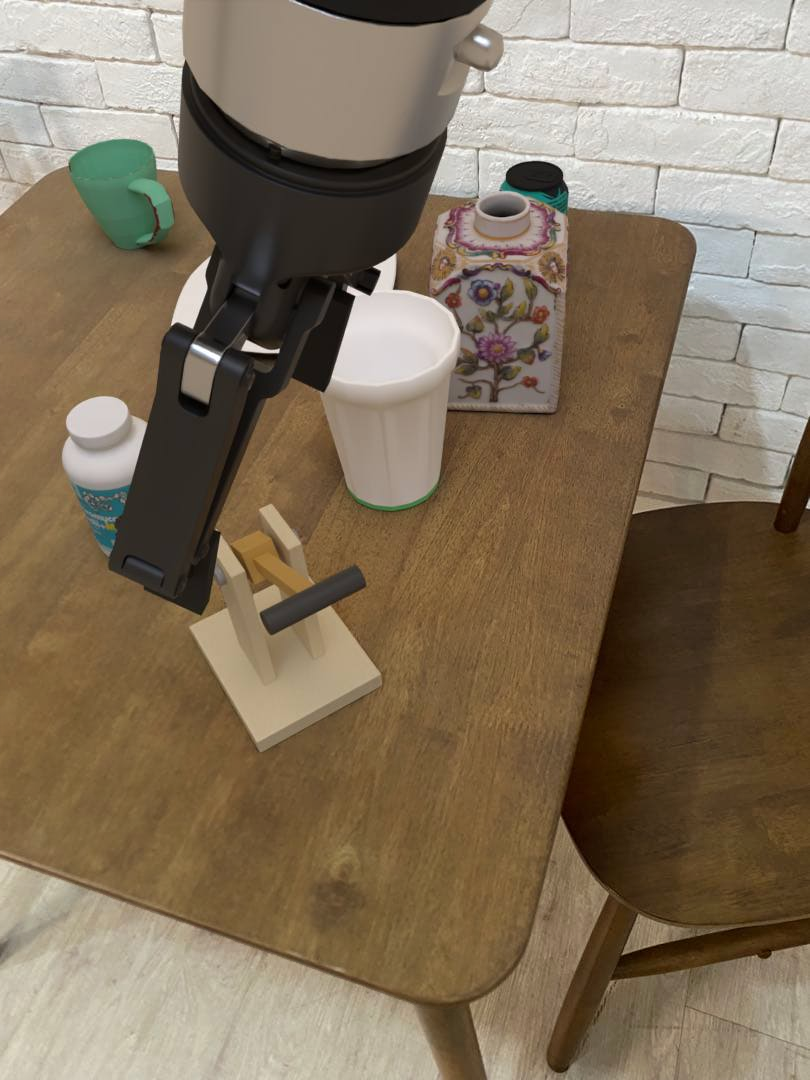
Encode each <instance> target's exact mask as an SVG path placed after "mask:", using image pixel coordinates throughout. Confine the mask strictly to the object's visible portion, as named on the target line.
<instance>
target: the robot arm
mask: <svg viewBox="0 0 810 1080" xmlns="http://www.w3.org/2000/svg"><path fill="white" fill-rule="evenodd" d="M494 2H495V0H183V5H182V6H183V7H182V21H181V22H182V23H181V37H182V55H183V57H184V63H183V66H182V69H181V83H180V104H179V121H178V123H179V124H178V140H177V141H178V143H177V172H178V177H179V181H180V185H181V188H182V190H183V191H182V192H183V193H184V196H185V197H186V200H187V202H188V203H189V206H190V207H191V209H192V210H193V212H194V213H195V215H196V216H197V217H198V219H199V220H200V221H201V223H202V224H203V226H204V227H205V229H206V230H207V232H208V234H209V235H210V236H211V238H212V240H213V241H214V243H215V245H214V247H213V249H212V253H211V255H210V256H211V258H210V260H209V263H208V266H207V269H206V274H205V278H206V282H207V291H206V294H205V297H204V300H203V302H202V305H201V308H200V311H199V313H198V316H197V319H196V322H195V324H194V327H193V329H192V328H190V327H188V326H186V325H183V324H181V323H179V322H176V323H175V324H174V325H172V326H171V325H170V328H169V330H168V331H166V332H165V334H164V335H163V337H162V340H161V343H160V345H161V347H160V353H159V361H158V371H157V379H156V389H155V394H154V398H153V402H152V405H151V409H150V412H149V415H148V420H147V422H146V423H147V427H146V430H145V434H144V437H143V441H142V445H141V448H140V452H139V456H138V459H137V463H136V466H135V470H134V474H133V477H132V481H131V485H130V488H129V492H128V495H127V499H126V503H125V506H124V510H123V514H121V515H120V516H119V518H116V520H115V524H114V527H115V529H117V530H118V532H117V535H116V539H115V543H114V546H113V549H112V551H111V553H110V556H109V557H108V559H109V561H108V565H107V569H108V571H110V572H113V573H115V574H117V575H120V576H121V577H123V578H126V579H128V580H130V581H132V582H135V583H136V584H139V585H141V586H143V590H144V591H145V592H147V593H149V594H151V595H155V596H156V597H159V598H160V599H163V600H165V601H167V602H169V603H172V604H174V605H176V606H178V607H181V608H182V609H185V610H187V611H189V612H192V613H193V614H195V615H198V616H200V617H202V615H203V614H204V612H205V610H206V608H207V607H208V605H209V603H210V599H211V594H212V587H213V582H214V571H215V565H216V559H217V553H218V548H219V542H220V536H221V535H222V532H221V531H219V530H218V529H217V530H218V531H217V530H215V529H216V526H217V523H218V521H219V518H220V516H221V514H222V512H223V509H224V506H225V504H226V501H227V498H228V496H229V494H230V492H231V489H232V486H233V484H234V481H235V479H236V476H237V474H238V472H239V469H240V466H241V465H242V461H243V459H244V456H245V454H246V452H247V449H248V447H249V444H250V441H251V440H252V436H253V435H254V431H255V429H256V427H257V424H258V422H259V419H260V417H261V415H262V412H263V410H264V408H265V405H266V402H267V399H272V398H275V397H276V396H277V395H280V393H282V392H283V391H285V390H286V389H287V387H288V386H289V384H290V381H291V380H295V381H298V382H300V383H302V384H304V385H306V386H308V387H310V388H312V389H315V390H316V391H318V392H319V391H321V392H323V393H324V392H325V390H326V389H327V387H328V385H329V383H330V380H331V377H332V374H333V370H334V367H335V364H336V360H337V357H338V354H339V350H340V347H341V343H342V340H343V337H344V333H345V330H346V327H347V323H348V320H349V317H350V313H351V310H352V307H353V303H354V300H355V297H356V296H354V295H352V294H350V293H348V292H346V291H347V288H348V286H350V287H352V288H354V289H356V290H358V291H360V292H362V293H364V294H367V295H369V296H371V294H372V293H373V291H374V289H375V287H376V284H377V282H378V280H379V277H380V274H381V271H380V270H378V269H376V268H374V266H376V265H378V264H380V263H382V262H384V261H386V260H387V259H389V258H390V257H392V256H393V255H394V254H396V255H397V253H398V252H399V251H400V250H402V249H403V247H404V246H405V245H406V244H407V243H408V242H409V240H410V239H411V238H412V236H413V235H414V233H415V231H416V230H417V227H418V225H419V223H420V222H421V221H420V220H421V217H422V215H423V212H424V209H425V207H426V203H427V200H428V197H429V195H430V193H431V192H430V191H431V189H432V186H433V183H434V180H435V177H436V175H437V172H438V169H439V166H440V163H441V161H442V158H443V155H444V152H445V148H446V145H447V142H448V140H447V139H448V129H449V128H448V127H449V125H450V124H451V122H452V120H453V118H454V116H455V113H456V111H457V108H458V105H459V103H460V99H461V96H462V93H463V91H464V88H465V86H466V82H467V79H468V76H469V73H470V69H471V68H473V69H475V70H477V71H479V72H485V73H489V72H491V71H492V70H494V69H495V68H497V67H498V66H499V64H500V62H501V59H502V58H503V54H504V53H505V51H504V50H505V49H504V48H505V45H504V42H505V41H504V35H503V34H501V33H500V32H498V31H497V30H495V29H493V28H491V27H489V26H486V25H484V24H483V23H481V22H482V21H483V20H484V19H485V17H486V16H487V15H488V14H489V11H490V10H491V8H492V7H493V4H494ZM246 340H247V341H249V342H252V343H254V344H256V345H258V346H260V347H262V348H264V349H268V350H277V349H280V350H279V354H277V357H276V359H275V362H274V365H273V367H269V366H267V365H265V364H263V363H261V362H259V361H257V360H256V358H255V357H254V356H251V355H249V354H247V353H246V352H241V350H242V347H243V345H244V343H245V342H246Z"/></svg>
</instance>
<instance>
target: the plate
mask: <svg viewBox="0 0 810 1080" xmlns="http://www.w3.org/2000/svg"><path fill="white" fill-rule="evenodd" d="M210 258H211V255H210V256H208V257H207V258H206V259H205V260H204V261H203V262H201V264H200V265H199V266H198V267H197V268H196V269H194V271H192V273H191V274H190V275H189V277H188V278H187V280H186V282H185V283H184V285H183V287H182V290H181V292H180V294H179V297H178V299H177V301H176V305H175V308H174V311H173V315H172V319H171V324H170V327H171V326H172V325H174V324H175V323H176V322H179V323H181V324H183V325H186V326H188V327H190V328H192V329H193V327H194V324H195V322H196V319H197V316H198V313H199V311H200V308H201V305H202V302H203V300H204V297H205V294H206V291H207V282H206V278H205V274H206V269H207V266H208V263H209V260H210ZM374 268H376V269H378V270H380V271H381V274H380V277H379V280H378V282H377V284H376V287H375V289H374V290H377V289H388V290H394V286H395V280H396V277H397V276H396V275H397V253H396V254H394V255H393V256H392V257H390V258H389V259H387V260H386V261H384V262H382V263H380V264H378V265H376V266H374ZM346 292H348V293H350V294H354V293H360V291H358V290H356V289H354V288H352V287H350V286H348V288H347V291H346ZM279 350H280V349H277V350H268V349H264V348H262V347H260V346H258V345H256V344H254V343H252V342H249V341H247V340H246V342H245V343H244V345H243V347H242V350H241V352H243V353H246V354H247V353H248V354H258V355H278V354H279Z"/></svg>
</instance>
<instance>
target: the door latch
mask: <svg viewBox="0 0 810 1080" xmlns="http://www.w3.org/2000/svg"><path fill="white" fill-rule="evenodd" d="M258 513H259V517H260V520H261V524H262V528H263V533H264V534H266V535H267V536H269V537H270V538H272V541H273V543H274V545H275V548H276V550H277V553H278V555H279V558H280V560H281V561H282V562H283V563H285V564H286V565H288V566H289V567H290V568H292V569H293V570H295V571H296V572H297V573H299V574H300V575H302V576H303V577H305V578H306V579H307V580H309V581H310V582H312V583H313V584H314V585H315V584H316V583H315V582H314V580H313V579H312V578H311V576H310V575H309V572H308V566H307V561H306V558H305V553H304V548H303V543H302V540H301V537H300V536H299V534H298V532H297V531H296V530H295V529H294V528H291V527H290V526H289V525H288V523H287V521H286V520H285V519H284V517H283V516H282V515H281V514H280V512H279V510H277V508H276V507H275V506H274V504H273V503H269V504H267V505H265V506H263V507H259V509H258ZM215 530H217V531H219V529H218V528H215ZM213 579H214V580H215V582H216V583H217V585H218V586H219V587H220V591H221V594H222V597H223V600H224V602H225V606H226V608H225V607H224V608H223V609H221V610H220V611H219V610H218V611H217V612H215V613H213V614H211V615H209V616H207V617H205V618H203V619H201V620H199V621H197V622H194V623H193V624H191V625H189V626H188V628H189V631H190V633H191V636H192V639H193V640H194V642H195V644H196V646H197V647H198V649H199V650H200V652H201V654H202V656H203V657H204V659H205V661H206V663H207V664H208V666H209V667H210V669H211V671H212V672H213V674H214V676H215V678H216V679H217V682H218V684H219V685H220V687H221V688H222V690H223V692H224V693H225V696H227V698H228V700H229V702H230V704H231V705H232V707H233V709H234V710H235V712H236V714H237V715H238V718H239V719H240V721H241V722H242V724H243V726H244V728H245V730H246V731H247V733H248V735H249V736H250V738H251V740H252V742H253V743H254V745H255V747H256V748H257V750H258V752H259V753H260V754H261V753H263V752H265V751H266V750H268V749H270V748H272V747H274V746H275V745H277V744H280V743H281V742H283V741H284V740H287V739H288V738H290V737H292V736H293V735H296V734H298V733H300V732H301V731H303V730H305V729H306V728H309V727H310V726H311V725H313V724H314V725H315V723H317V722H319V721H321V720H322V719H324V718H326V717H328V716H329V715H332V714H333V713H335V712H337V711H339V710H340V709H342V708H344V707H347V705H349V704H351V703H353V702H355V701H357V700H359V699H360V698H363V697H364V696H366V695H368V694H369V693H371V692H373V691H375V690H377V689H379V688H380V687H382V686H383V681H382V680H383V679H382V674H381V672H380V671H379V668H377V667H376V665H375V664H374V662H373V661H372V659H371V658H370V657H369V656H368V654H367V652H366V651H365V650H364V649H363V647H362V646H361V644H360V642H358V641H357V639H356V638H355V636H354V635H353V633H352V632H351V630H349V628H348V627H347V625H346V624H345V623H344V621H343V620H342V619H341V618H340V616H339V615H338V614H337V612H336V611H335V609H334V607H333V606H332V605H330V606H328V607H327V608H325V609H323V610H321V611H319V612H317V613H315V614H313V615H311V616H309V617H307V618H305V619H303V620H301V621H299V622H297V623H295V624H293V625H291V626H290V627H288V628H286V629H284V630H282V631H280V632H278V633H276V634H274V635H270V634H269V633H268V632H267V630H266V628H265V627H264V625H263V623H262V620H261V618H260V612H261V611H263V610H265V609H267V608H269V607H271V606H273V605H275V604H277V603H279V602H281V601H283V600H285V599H287V598H289V596H288V595H287V594H286V593H284V592H283V591H282V590H281V589H279V588H278V587H277V586H276V585H274V584H272V585H270V586H268V587H266V588H264V589H261V590H260V591H257V592H256V593H254V594H253V592H252V589H251V586H250V581H249V580H248V579H247V575H246V572H245V570H244V568H243V567H242V565H241V564H240V562H239V561H238V559H237V558H236V556H235V555H234V553H233V551H232V549H231V546H230V545H228V543H227V542H226V539H225V538H224V537H223V535H222V534H221V536H220V542H219V548H218V553H217V559H216V565H215V571H214V577H213Z"/></svg>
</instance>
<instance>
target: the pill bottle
mask: <svg viewBox="0 0 810 1080" xmlns="http://www.w3.org/2000/svg"><path fill="white" fill-rule="evenodd" d="M147 423H148V422H147V421H145V420H143V419H142V418H140V417H138V416H134V415H131V411H130V409H129V407H128V404H126V402H124V401H123V400H122V399H120V398H118V397H116V396H115V397H114V396H110V395H109V396H108V395H104V396H103V395H100V396H96V397H91V398H88V399H86V400H83V401H81V402H80V403H78V404H77V405H75V406H74V407H73V408H72V409H70V411H69V412H68V414H67V416H66V419H65V427H66V429H67V432H68V435H69V436H68V437H67V439H66V440H65V442H64V444H63V448H62V452H61V463H62V467H63V469H64V472H65V475H66V476H67V478H68V480H69V483H70V485H71V487H72V489H73V491H74V494H75V496H76V498H77V499H78V503H79V504H80V507H81V509H82V511H83V513H84V516H85V518H86V520H87V523H88V524H89V526H90V529H91V531H92V534H93V535H94V538H95V540H96V542H97V544H98V547H99V549H100V550H101V552H103V554H104V555H105V556H107V557H108V558H109V556H110V553H111V551H112V549H113V546H114V543H115V539H116V535H117V532H118V530H117V529H115V527H114V524H115V520H116V518H119V516H120V515H121V514H123V510H124V506H125V503H126V499H127V495H128V492H129V488H130V485H131V481H132V477H133V474H134V470H135V466H136V463H137V459H138V456H139V452H140V448H141V445H142V441H143V437H144V434H145V430H146V427H147Z"/></svg>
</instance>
